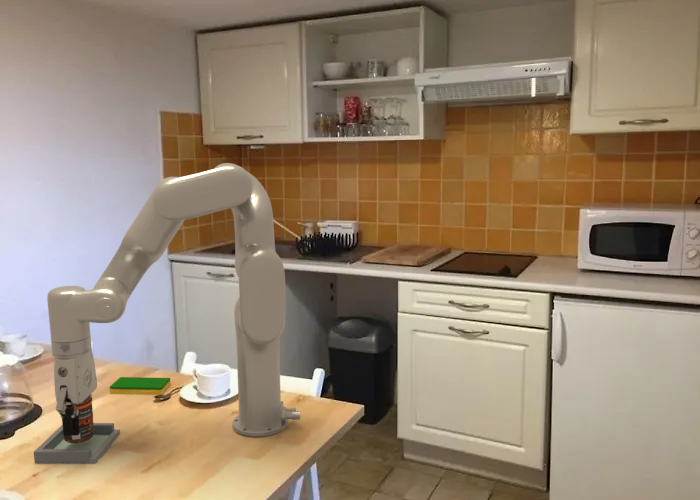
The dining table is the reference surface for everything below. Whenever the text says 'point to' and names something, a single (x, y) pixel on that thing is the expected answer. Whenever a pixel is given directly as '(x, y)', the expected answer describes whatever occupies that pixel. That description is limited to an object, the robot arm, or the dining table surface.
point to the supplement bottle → (82, 422)
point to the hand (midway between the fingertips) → (78, 426)
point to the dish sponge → (140, 385)
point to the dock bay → (76, 446)
